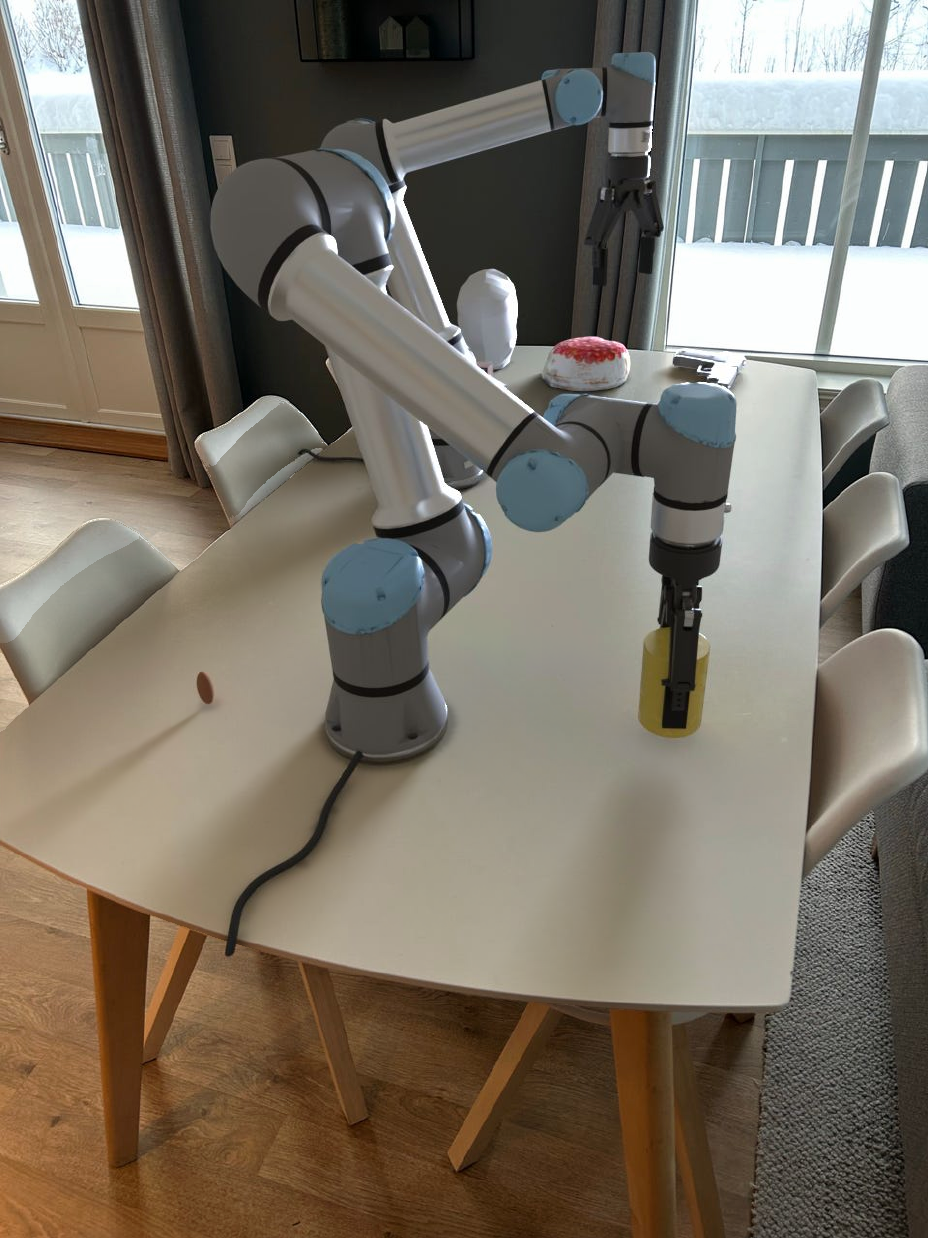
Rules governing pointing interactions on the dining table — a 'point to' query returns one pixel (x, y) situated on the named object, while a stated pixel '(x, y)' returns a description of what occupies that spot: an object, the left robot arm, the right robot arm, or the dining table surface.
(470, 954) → the dining table surface
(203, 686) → the brown ellipsoid
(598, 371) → the cake
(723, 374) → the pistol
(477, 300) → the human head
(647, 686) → the canister
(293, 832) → the dining table surface
